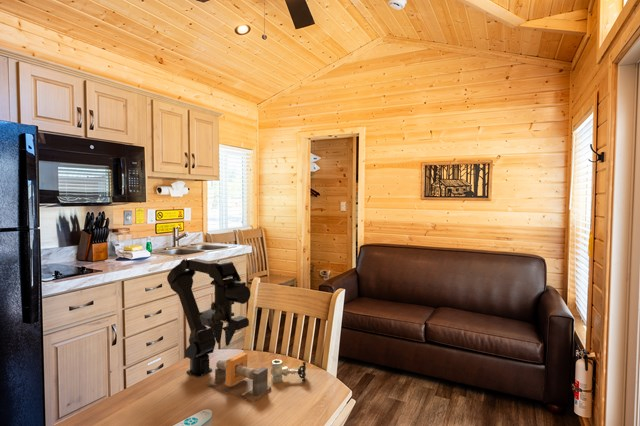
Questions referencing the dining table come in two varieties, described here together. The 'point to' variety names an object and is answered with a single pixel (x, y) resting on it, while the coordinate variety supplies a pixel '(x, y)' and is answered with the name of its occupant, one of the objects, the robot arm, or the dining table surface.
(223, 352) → the dining table surface
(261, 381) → the pipe stand
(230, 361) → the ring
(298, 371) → the valve
